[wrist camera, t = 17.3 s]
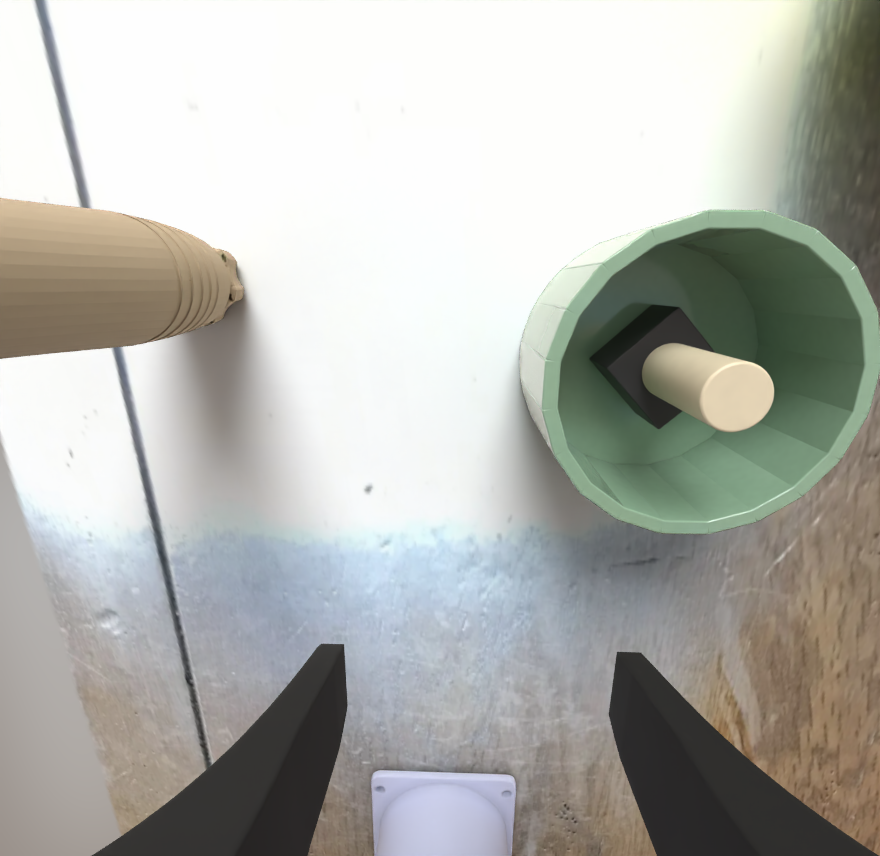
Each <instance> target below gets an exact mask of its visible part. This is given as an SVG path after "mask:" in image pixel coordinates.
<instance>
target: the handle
mask: <svg viewBox="0 0 880 856" xmlns="http://www.w3.org/2000/svg"><path fill="white" fill-rule="evenodd" d="M236 266H237V261H236V260H235V258H234V257H233V256H232V255H231V254H230V253H228V252H227V251H224V250H221V249H214V248H212V247H211V246H209V245H208V244H207V243H206V242H204V241H202V240H200V239H198V238H197V237H195V236H193V235H191V234H189V233H186V232H184V231H181V230H179V229H176V228H174V227H171V226H168V225H164V224H161V223H158V222H155V221H151V220H147V219H143V218H138V217H134V216H129V215H125V214H120V213H116V212H111V211H105V210H97V209H88V208H80V207H71V206H63V205H54V204H46V203H37V202H29V201H20V200H12V199H4V198H0V359H2V358H12V357H21V356H30V355H40V354H49V353H60V352H70V351H81V350H91V349H102V348H112V347H123V346H133V345H137V344H143V343H147V342H152V341H157V340H161V339H165V338H169V337H173V336H176V335H180V334H183V333H187V332H190V331H192V330H195V329H198V328H200V327H202V326H207V325H211V324H213V323H216V322H218V321H220V320H221V319H223V318H224V315H225V312H226V310H227V309H228V308H229V306H230V305H232V304H233V303H234V302H236V301H239V300H241V299H242V298H243V294H244V288H243V287H242V286H241V284H240V282H239V280H238V277H237V273H236Z"/></svg>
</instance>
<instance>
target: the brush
mask: <svg viewBox="0 0 880 856" xmlns="http://www.w3.org/2000/svg"><path fill="white" fill-rule="evenodd" d="M589 359H590V361H591V362H592V363H593V364H594V365H595V366H596V368H597V369H598V370H599V371H600V372H601V373H602V375H603V376H604V377H605V378H606V379H607V381H608V382H609V383H610V384H611V385H612V386H613V388H614V389H615V390H616V391H617V392H618V393H619V395H620V396H621V397H622V398H623V399H624V400H625V402H626V403H627V404H628V405H629V406H630V407H631V409H632V410H633V411H634V412H635V413H636V414H637V415H639V416H640V417H642V418H643V419H644V420H646V421H647V422H649V423H650V424H651V425H653V426H654V427H656V428H657V429H661V428H662V427H663V426H664V425H666V424H667V423H668V422H669V421H671V420H672V419H673V418H675V417H676V416H677V415H678V414H680V413H681V412H682V411H684V412H686V413H687V414H689V415H691V416H693V417H695V418H696V419H698V420H700V421H702V422H704V423H705V424H707V425H709V426H711V427H713V428H714V429H716V430H719V431H723V432H738V431H743V430H746V429H748V428H750V427H752V426H754V425H755V424H757V423H758V422H759V421H761V420H762V419H763V418H764V417H765V415H766V414H767V413H768V411H769V409H770V407H771V405H772V402H773V398H774V385H773V382H772V380H771V377H770V376H769V374H768V373H767V372H766V371H765V370H764V369H763V368H762V367H761V366H759V365H757V364H755V363H751V362H748V361H744V360H740V359H736V358H732V357H729V356H725V355H721V354H717V353H716V352H715V351H714V350H713V349H712V347H711V346H710V345H709V344H708V342H707V341H706V340H705V339H704V337H703V336H702V335H701V333H700V332H699V331H698V330H697V328H696V327H695V326H694V325H693V323H692V322H691V321H690V319H689V318H688V317H687V316H686V314H685V313H684V312H683V311H682V309H681V308H680V307H674V306H664V305H654V304H652V305H651V306H650V307H648V308H647V309H646V310H645V311H644V312H643V313H641V314H640V315H639V316H638V317H637V318H636V319H634V320H633V321H632V322H631V323H630V324H629V325H627V326H626V327H625V328H624V329H623V330H622V331H620V332H619V333H618V334H617V335H616V336H614V337H613V338H612V339H611V340H610V341H609V342H607V343H606V344H605V345H604V346H603V347H602V348H600V349H599V350H598V351H597V352H596V353H595V354H593V355H592V356H591V357H590V358H589Z"/></svg>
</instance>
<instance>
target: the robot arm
mask: <svg viewBox="0 0 880 856" xmlns="http://www.w3.org/2000/svg"><path fill="white" fill-rule="evenodd" d="M346 712H347V689H346V672H345V655H344V644H321V645H319V646H318V647H317V648H316V650H315V651H314V652H313V654H312V655H311V656H310V658H309V659H308V660H307V662H306V663H305V664H304V666H303V667H302V668H301V669H300V671H299V672H298V673H297V674H296V676H295V677H294V678H293V679H292V681H291V682H290V683H289V684H288V686H287V687H286V688H285V689H284V690H283V691H282V693H281V694H280V695H279V696H278V697H277V698H276V700H275V701H274V702H273V703H272V704H271V706H270V707H269V708H268V709H267V710H266V711H265V712H264V713H263V714H262V715H261V717H260V718H259V719H258V720H257V721H256V722H255V723H254V724H253V725H252V726H251V727H250V728H249V729H248V730H247V732H246V733H245V734H244V735H243V736H242V737H241V738H240V739H239V740H238V741H237V742H236V743H235V744H234V745H233V746H232V747H231V748H230V749H229V750H228V751H227V752H225V753H224V754H223V755H222V756H221V757H220V758H219V759H218V760H217V761H216V762H215V763H214V764H213V765H212V766H210V767H209V768H208V769H207V770H206V771H205V772H204V773H202V774H201V775H200V776H199V777H198V778H197V779H195V780H194V781H193V782H192V783H191V784H190V785H188V786H187V787H186V788H185V789H184V790H183V791H181V792H180V793H179V794H178V795H176V796H175V797H174V798H173V799H171V800H170V801H169V802H168V803H166V804H165V805H164V806H162V807H161V808H160V809H158V810H157V811H156V812H154V813H153V814H152V815H150V816H149V817H148V818H146V819H145V820H144V821H142V822H141V823H140V824H138V825H137V826H135V827H134V828H133V829H131V830H130V831H128V832H127V833H125V834H124V835H123V836H121V837H120V838H118V839H117V840H115V841H114V842H112V843H111V844H109V845H108V846H106V847H105V848H103V849H102V850H100V851H99V852H97V853H95V854H94V855H92V856H307V855H308V852H309V848H310V844H311V841H312V838H313V834H314V831H315V828H316V824H317V821H318V818H319V814H320V811H321V808H322V805H323V801H324V798H325V795H326V791H327V788H328V785H329V782H330V778H331V775H332V772H333V768H334V765H335V762H336V758H337V755H338V751H339V748H340V743H341V738H342V733H343V728H344V722H345V717H346ZM609 717H610V721H611V725H612V729H613V733H614V737H615V741H616V745H617V748H618V752H619V756H620V759H621V762H622V764H623V767H624V770H625V772H626V775H627V778H628V781H629V783H630V786H631V789H632V791H633V794H634V796H635V799H636V802H637V804H638V807H639V810H640V812H641V815H642V818H643V820H644V823H645V825H646V828H647V831H648V833H649V836H650V839H651V841H652V844H653V846H654V849H655V852H656V854H657V856H878V855H877V854H875V853H874V852H872V851H871V850H869V849H867V848H866V847H864V846H863V845H861V844H860V843H859V842H857V841H856V840H854V839H853V838H851V837H850V836H848V835H847V834H845V833H844V832H842V831H841V830H839V829H838V828H837V827H835V826H834V825H832V824H831V823H830V822H828V821H827V820H825V819H824V818H823V817H821V816H820V815H819V814H817V813H816V812H814V811H813V810H812V809H810V808H809V807H807V806H806V805H805V804H803V803H802V802H801V801H800V800H798V799H797V798H796V797H794V796H793V795H792V794H790V793H789V792H788V791H786V790H785V789H784V788H783V787H782V786H780V785H779V784H778V783H777V782H775V781H774V780H773V779H772V778H770V777H769V776H768V775H767V774H765V773H764V772H763V771H762V770H761V769H759V768H758V767H757V766H756V765H755V764H753V763H752V762H751V761H750V760H749V759H748V758H746V757H745V756H744V755H743V754H742V753H741V752H740V751H739V750H737V749H736V748H735V747H734V746H733V745H732V744H731V743H730V742H729V741H728V740H726V739H725V738H724V737H723V736H722V735H721V734H720V733H719V732H718V731H717V730H716V729H715V728H714V727H713V726H711V725H710V724H709V723H708V722H707V721H706V720H705V719H704V718H703V717H702V716H701V715H700V714H699V713H698V712H697V711H696V710H695V709H694V708H693V707H692V706H691V705H690V704H689V703H688V702H687V701H686V700H685V699H684V698H683V697H682V696H681V695H680V694H679V692H678V691H677V690H676V689H675V688H674V687H673V686H672V685H671V684H670V683H669V682H668V681H667V680H666V679H665V678H664V677H663V676H662V675H661V674H660V672H659V671H658V670H657V669H656V668H655V667H654V666H653V665H652V664H651V663H650V662H649V661H648V660H647V659H646V658H645V657H644V656H643V655H642V654H641V653H636V652H617V656H616V664H615V671H614V679H613V687H612V694H611V702H610V710H609ZM371 787H372V811H373V834H374V856H512V843H513V828H514V814H515V799H516V781H515V778H514V777H513V776H511V775H507V774H480V773H451V772H423V771H394V770H378V771H376V772H374V773H373V775H372V781H371Z"/></svg>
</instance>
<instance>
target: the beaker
mask: <svg viewBox="0 0 880 856" xmlns="http://www.w3.org/2000/svg"><path fill="white" fill-rule="evenodd" d="M652 304H654V305H664V306H674V307H680V308H681V309H682V311H683V312H684V313H685V314H686V316H687V317H688V318H689V319H690V321H691V322H692V323H693V325H694V326H695V327H696V328H697V330H698V331H699V332H700V333H701V335H702V336H703V337H704V339H705V340H706V341H707V342H708V344H709V345H710V346H711V347H712V349H713V350H714V351H715V352H716V353H717V354H721V355H725V356H729V357H732V358H736V359H740V360H744V361H748V362H751V363H755V364H757V365H759V366H761V367H762V368H763V369H764V370H765V371H766V372H767V373H768V374H769V376H770V377H771V380H772V382H773V385H774V398H773V402H772V405H771V407H770V409H769V411H768V413H767V414H766V415H765V417H764V418H763V419H762V420H761V421H759V422H758V423H757V424H755V425H754V426H752V427H750V428H748V429H746V430H743V431H738V432H723V431H719V430H716V429H714V428H713V427H711V426H709V425H707V424H705V423H704V422H702V421H700V420H698V419H696V418H695V417H693V416H691V415H689V414H687V413H686V412H684V411H682V412H681V413H680V414H678V415H677V416H676V417H675V418H673V419H672V420H671V421H669V422H668V423H667V424H666V425H664V426H663V427H662V428H661V429H657V428H656V427H654V426H653V425H651V424H650V423H649V422H647V421H646V420H644V419H643V418H642V417H640V416H639V415H637V414H636V413H635V412H634V411H633V410H632V409H631V407H630V406H629V405H628V404H627V403H626V402H625V400H624V399H623V398H622V397H621V396H620V395H619V393H618V392H617V391H616V390H615V389H614V388H613V386H612V385H611V384H610V383H609V382H608V381H607V379H606V378H605V377H604V376H603V375H602V373H601V372H600V371H599V370H598V369H597V368H596V366H595V365H594V364H593V363H592V362H591V361H590V359H589V358H590V357H591V356H592V355H593V354H595V353H596V352H597V351H598V350H599V349H600V348H602V347H603V346H604V345H605V344H606V343H607V342H609V341H610V340H611V339H612V338H613V337H614V336H616V335H617V334H618V333H619V332H620V331H622V330H623V329H624V328H625V327H626V326H627V325H629V324H630V323H631V322H632V321H633V320H634V319H636V318H637V317H638V316H639V315H640V314H641V313H643V312H644V311H645V310H646V309H647V308H648V307H650V306H651V305H652ZM877 311H878V310H877V308H876V306H875V304H874V302H873V299H872V297H871V295H870V293H869V291H868V289H867V287H866V285H865V282H864V280H863V278H862V276H861V274H860V272H859V270H858V267H857V266H856V265H855V263H853V262H852V261H851V260H850V259H849V258H848V257H847V256H846V255H845V254H844V253H842V252H841V251H840V250H839V249H838V248H837V247H836V246H835V245H834V244H833V243H832V242H830V241H829V240H828V239H827V238H826V237H825V236H824V235H823V234H822V233H821V232H820V231H818V230H817V229H815V228H813V227H810V226H807V225H805V224H802V223H799V222H796V221H794V220H791V219H788V218H786V217H783V216H780V215H778V214H775V213H772V212H770V211H764V210H707V211H702V212H698V213H695V214H692V215H688V216H685V217H682V218H678V219H675V220H672V221H668V222H665V223H661V224H658V225H655V226H651V227H648V228H645V229H641V230H638V231H635V232H632V233H629V234H626V235H623V236H620V237H617V238H613V239H610V240H607V241H604V242H601V243H599V244H597V245H595V246H594V247H592V248H591V249H588V250H587V251H585V252H584V253H582V254H581V255H579V256H578V257H576V258H575V259H573V260H572V261H571V262H570V263H569V264H567V265H566V266H565V267H564V268H563V269H562V270H560V272H559V273H558V274H557V275H556V276H555V277H554V278H553V279H552V280H551V281H550V282H549V284H548V285H547V286H546V288H545V289H544V291H543V292H542V293H541V295H540V296H539V298H538V300H537V302H536V303H535V305H534V307H533V309H532V311H531V313H530V316H529V318H528V321H527V323H526V326H525V329H524V333H523V337H522V341H521V348H520V357H519V366H520V379H521V386H522V390H523V394H524V397H525V401H526V403H527V406H528V409H529V413H530V414H531V417H532V418H533V420H534V422H535V424H536V425H537V427H538V429H539V431H540V432H541V434H542V436H543V438H544V439H545V441H546V443H547V444H548V446H549V448H550V450H551V451H552V453H553V455H554V457H555V458H556V460H557V461H558V463H559V464H560V465H561V467H562V468H563V470H564V471H565V473H566V474H567V476H568V477H569V478H570V480H571V481H572V483H573V484H574V486H575V487H576V489H577V490H578V491H579V492H580V493H581V494H582V495H583V496H584V497H586V498H587V499H589V500H590V501H591V502H593V503H594V504H595V505H597V506H598V507H600V508H601V509H602V510H604V511H605V512H606V513H608V514H609V515H610V516H612V517H613V518H615V519H617V520H620V521H623V522H626V523H629V524H632V525H635V526H638V527H641V528H644V529H647V530H651V531H654V532H657V533H662V534H712V533H716V532H720V531H724V530H728V529H732V528H736V527H740V526H743V525H747V524H751V523H755V522H756V521H760V520H761V519H763V518H765V517H767V516H769V515H770V514H772V513H774V512H776V511H778V510H779V509H781V508H783V507H785V506H787V505H789V504H790V503H792V502H794V501H796V500H798V499H799V498H801V496H804V495H805V494H806V493H807V492H808V491H809V490H810V489H811V488H812V487H813V486H814V485H815V484H816V483H817V482H818V481H820V480H821V479H822V478H823V477H824V476H825V475H826V474H827V473H828V472H829V471H830V470H831V469H832V468H833V467H834V466H835V465H836V464H837V463H839V461H840V460H841V459H842V457H843V456H844V454H845V452H846V451H847V449H848V448H849V446H850V444H851V443H852V441H853V439H854V438H855V436H856V434H857V433H858V431H859V429H860V428H861V426H862V425H863V423H864V421H865V420H866V418H867V416H868V415H867V414H869V411H870V408H871V404H872V400H873V396H874V392H875V388H876V385H877V381H878V377H879V373H880V330H879V317H878V312H877Z"/></svg>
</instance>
